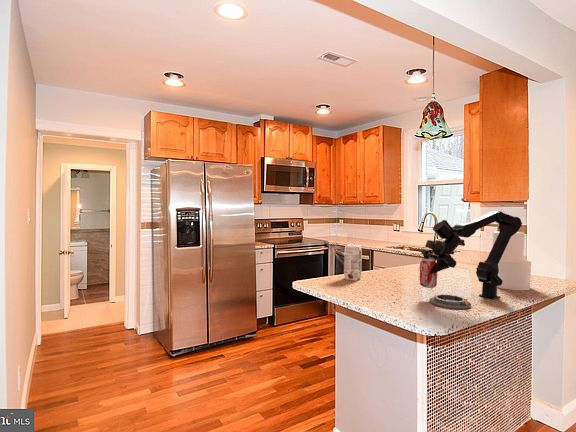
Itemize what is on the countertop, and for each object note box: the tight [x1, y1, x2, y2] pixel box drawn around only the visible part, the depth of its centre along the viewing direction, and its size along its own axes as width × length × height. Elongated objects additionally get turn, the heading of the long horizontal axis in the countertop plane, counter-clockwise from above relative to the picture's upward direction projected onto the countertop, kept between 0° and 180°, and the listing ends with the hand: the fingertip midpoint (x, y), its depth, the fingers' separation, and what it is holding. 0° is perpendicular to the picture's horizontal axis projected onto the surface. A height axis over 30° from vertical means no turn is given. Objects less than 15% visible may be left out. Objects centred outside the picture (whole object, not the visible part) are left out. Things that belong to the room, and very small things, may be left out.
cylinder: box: [492, 231, 532, 291], centre depth 185 cm, size 17×17×28 cm
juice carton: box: [343, 243, 363, 282], centre depth 197 cm, size 8×9×19 cm
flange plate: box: [428, 293, 472, 310], centre depth 150 cm, size 16×16×4 cm
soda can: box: [419, 258, 438, 289], centre depth 157 cm, size 7×7×12 cm
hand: (425, 271), depth 157 cm, fingers closed on soda can, 7 cm apart
